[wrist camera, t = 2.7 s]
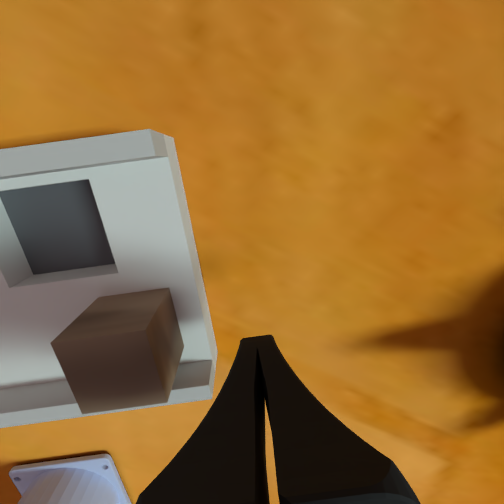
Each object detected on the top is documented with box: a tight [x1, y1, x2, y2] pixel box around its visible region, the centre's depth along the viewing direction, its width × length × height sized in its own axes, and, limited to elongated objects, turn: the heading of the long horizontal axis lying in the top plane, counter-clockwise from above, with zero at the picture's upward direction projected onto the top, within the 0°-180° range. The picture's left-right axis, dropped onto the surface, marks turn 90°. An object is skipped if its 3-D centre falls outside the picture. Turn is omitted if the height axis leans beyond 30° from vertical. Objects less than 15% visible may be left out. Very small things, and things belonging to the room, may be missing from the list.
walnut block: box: [50, 288, 184, 414], centre depth 14 cm, size 4×4×4 cm
